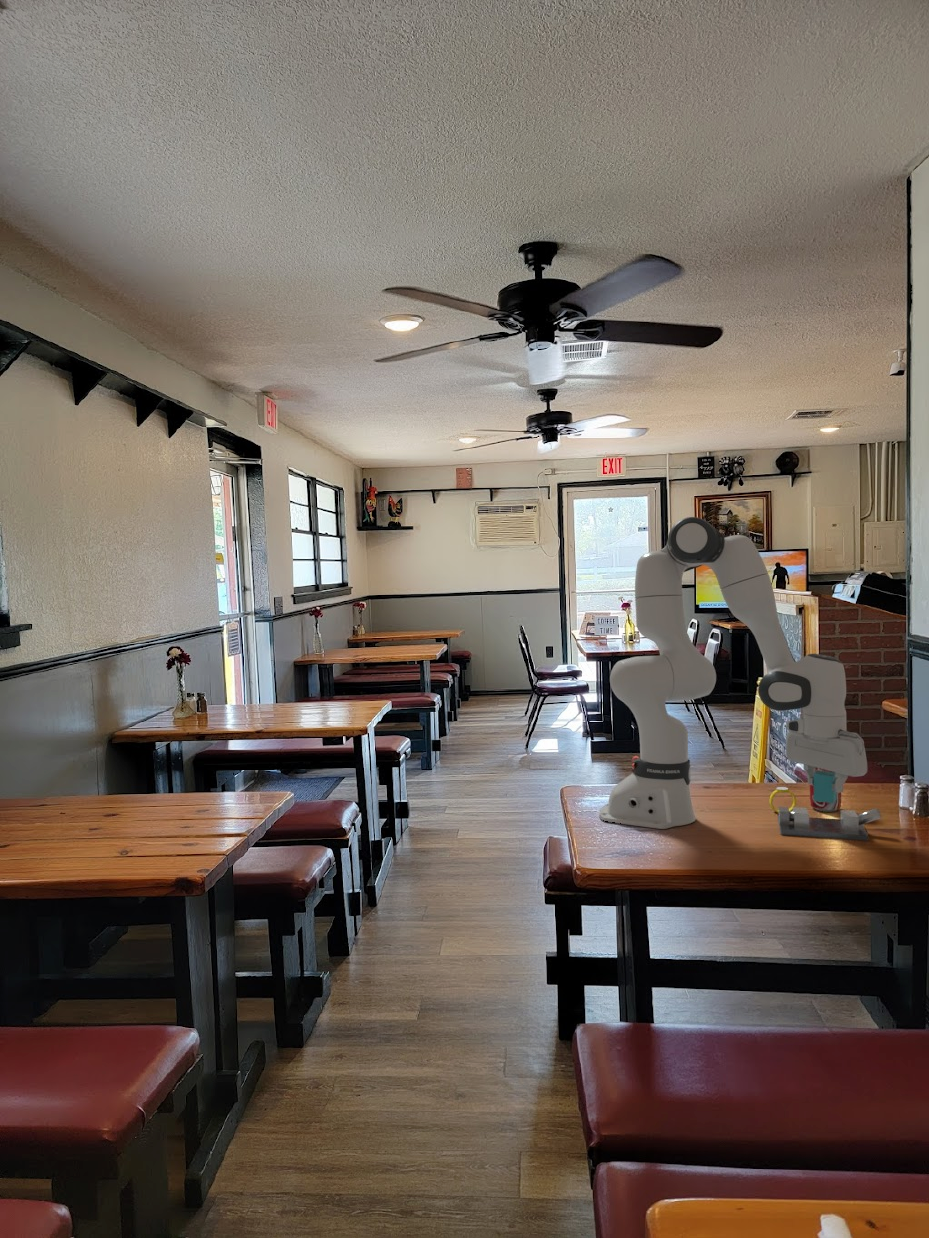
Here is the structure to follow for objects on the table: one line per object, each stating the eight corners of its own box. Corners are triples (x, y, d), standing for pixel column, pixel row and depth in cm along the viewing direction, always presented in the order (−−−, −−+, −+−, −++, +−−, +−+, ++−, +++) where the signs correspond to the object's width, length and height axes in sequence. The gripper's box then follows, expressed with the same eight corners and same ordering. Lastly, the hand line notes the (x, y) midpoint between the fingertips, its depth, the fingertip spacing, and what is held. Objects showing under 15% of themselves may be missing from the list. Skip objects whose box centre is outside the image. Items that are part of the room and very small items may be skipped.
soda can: (844, 813, 191) (844, 764, 191) (813, 812, 193) (813, 763, 192) (837, 805, 198) (837, 757, 198) (806, 804, 199) (806, 757, 199)
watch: (772, 814, 193) (770, 790, 192) (769, 811, 195) (767, 787, 195) (798, 813, 192) (796, 788, 192) (794, 810, 195) (792, 785, 195)
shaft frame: (780, 834, 177) (780, 808, 176) (777, 820, 187) (777, 795, 187) (886, 842, 170) (886, 815, 170) (877, 827, 180) (877, 801, 180)
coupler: (813, 800, 178) (813, 774, 178) (817, 796, 181) (817, 770, 181) (833, 803, 176) (833, 776, 176) (836, 799, 179) (836, 772, 179)
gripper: (874, 732, 170) (874, 797, 170) (801, 719, 189) (802, 777, 189) (851, 735, 167) (852, 800, 168) (780, 721, 186) (781, 780, 187)
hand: (825, 788), depth 179 cm, fingers closed on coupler, 6 cm apart
